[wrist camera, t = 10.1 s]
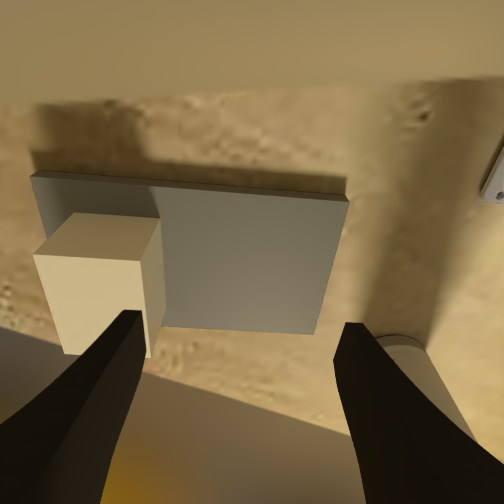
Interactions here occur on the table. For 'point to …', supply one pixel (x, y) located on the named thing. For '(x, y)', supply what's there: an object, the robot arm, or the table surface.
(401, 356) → the travel mug
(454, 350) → the table surface
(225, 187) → the board
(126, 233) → the cream rectangular block
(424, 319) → the table surface
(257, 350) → the table surface
